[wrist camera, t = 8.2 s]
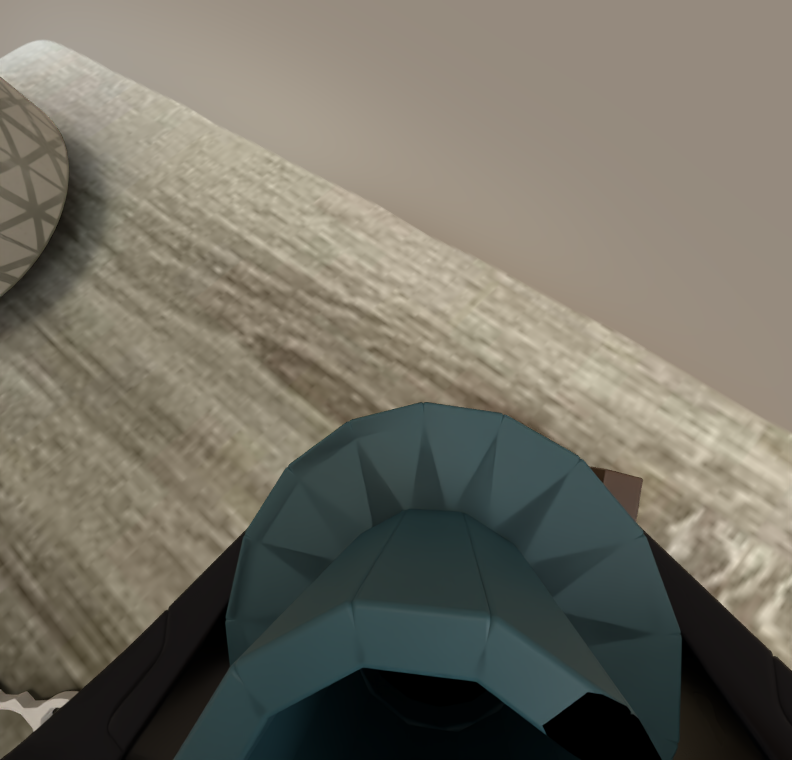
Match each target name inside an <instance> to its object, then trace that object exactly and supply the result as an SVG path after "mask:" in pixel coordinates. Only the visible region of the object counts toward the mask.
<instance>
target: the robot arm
mask: <svg viewBox="0 0 792 760" xmlns="http://www.w3.org/2000/svg"><path fill="white" fill-rule="evenodd" d="M639 527H640V526H639ZM640 528H641V527H640ZM247 529H248V528H247ZM247 529H246V530H247ZM641 529H642V528H641ZM246 530H245V531H244V532H243V533H242V534H241V535H240V536H239V537H238V538H237V539H236V540H235V541H234V542H233V543H232V544H231V545H230V546H229V547H228V548H227V549H226V550H225V551H224V552H223V553H222V554H221V555H220V556H219V557H218V558H217V559H216V560H215V561H214V562H213V563H212V564H211V565H210V566H209V567H208V568H207V569H206V570H205V571H204V572H203V573H202V574H201V575H200V576H199V577H198V578H197V579H196V580H195V581H194V582H193V583H192V584H191V585H190V586H189V587H188V588H187V589H186V590H185V591H184V592H183V593H182V594H181V595H180V596H179V597H178V598H177V599H176V600H175V601H174V602H173V603H172V604H171V605H170V607H169V609H168V610H166V611H164V612H163V613H162V614H161V615H160V616H159V617H158V618H157V619H156V620H155V621H154V622H153V623H152V624H151V625H150V626H149V627H148V628H147V629H146V630H145V631H144V632H143V633H142V634H141V635H140V636H139V637H138V638H137V639H136V640H135V641H134V642H133V643H132V644H131V645H130V646H129V647H128V648H127V649H126V650H125V651H124V652H122V653H121V654H120V655H119V656H118V657H117V658H116V659H115V660H114V661H113V662H111V663H110V664H109V665H108V666H107V667H106V668H105V669H104V670H103V671H102V672H101V673H99V674H98V675H97V676H96V677H95V678H94V679H93V680H92V681H90V682H89V683H88V684H87V685H86V686H85V687H84V688H83V689H81V690H80V691H79V692H78V693H77V694H76V695H75V696H74V697H72V698H71V699H70V700H69V701H68V702H67V703H66V704H65V705H63V706H62V707H61V708H60V709H59V710H58V711H57V712H55V713H54V714H53V715H52V716H51V717H50V718H49V719H48V720H46V721H45V722H44V723H43V724H42V725H41V726H40V727H39V728H37V729H36V730H35V731H34V732H33V733H32V734H31V735H30V736H28V737H27V738H26V739H25V740H24V741H23V742H21V743H20V744H19V745H18V746H17V747H16V748H14V749H13V750H12V751H11V752H9V753H8V754H7V755H6V756H4V757H3V758H2V759H0V760H173V759H174V757H175V756H176V754H177V753H178V751H179V749H180V748H181V746H182V744H183V743H184V741H185V740H186V738H187V736H188V735H189V733H190V731H191V730H192V728H193V726H194V725H195V723H196V722H197V720H198V718H199V717H200V715H201V713H202V712H203V710H204V708H205V707H206V705H207V704H208V702H209V700H210V699H211V697H212V695H213V694H214V692H215V691H216V689H217V687H218V686H219V684H220V682H221V681H222V679H223V677H224V676H225V674H226V673H227V671H228V669H229V668H230V662H229V653H228V643H227V634H226V625H225V622H226V613H227V608H228V604H229V599H230V595H231V590H232V586H233V581H234V577H235V572H236V568H237V563H238V559H239V554H240V550H241V545H242V541H243V537H244V535H245V532H246ZM642 530H643V529H642ZM643 534H644V535H645V536H646V537H647V540H648V543H649V546H650V548H651V551H652V554H653V557H654V559H655V562H656V565H657V568H658V570H659V573H660V576H661V579H662V581H663V584H664V587H665V590H666V592H667V595H668V598H669V601H670V603H671V606H672V609H673V611H674V614H675V617H676V620H677V622H678V625H679V628H680V631H681V633H680V635H681V637H682V651H681V695H680V740H679V743H677V744H678V749H677V751H676V753H675V755H674V757H673V759H672V760H792V671H791V670H790V669H789V668H788V667H787V666H786V665H785V664H784V663H783V662H782V661H781V660H780V659H779V658H778V657H775V656H773V654H772V652H771V651H770V650H769V649H768V648H767V647H766V646H765V645H764V644H763V643H762V642H761V641H760V640H759V639H758V638H756V637H755V636H754V635H753V634H752V633H751V632H750V631H749V630H748V629H747V628H746V627H745V626H744V625H743V624H742V623H741V622H740V621H739V620H738V619H736V618H735V617H734V616H733V615H732V614H731V613H730V612H729V611H728V610H727V609H726V608H725V607H724V606H723V605H722V604H721V603H720V602H719V601H718V600H716V599H715V598H714V597H713V596H712V595H711V594H710V593H709V592H708V591H707V590H706V589H705V588H704V587H703V586H702V585H701V584H700V583H699V582H698V581H697V580H695V579H694V578H693V577H692V576H691V575H690V574H689V573H688V572H687V571H686V570H685V569H684V568H683V567H682V566H681V565H680V564H679V563H678V562H677V561H675V560H674V559H673V558H672V557H671V556H670V555H669V554H668V553H667V552H666V551H665V550H664V549H663V548H662V547H661V546H660V545H659V544H658V543H657V542H656V541H654V540H653V539H652V538H651V537H650V536H649V535H648V534H647V533H646V532H645V531H644V530H643Z"/></svg>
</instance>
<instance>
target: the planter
mask: <svg viewBox="0 0 792 760" xmlns="http://www.w3.org/2000/svg"><path fill="white" fill-rule="evenodd" d="M68 182H69V161H68V154H67V150H66V146H65V143H64V140H63V138H62V135H61V133H60V132H59V130H58V128H57V127H56V125H55V124H54V123H53V121H52V120H51V119H50V118H49V117H48V116H47V115H46V114H45V113H44V112H43V111H41V110H40V109H39V108H38V107H37V106H35V105H34V104H33V103H32V102H31V101H29V100H28V99H27V98H26V97H24V96H23V95H22V94H21V93H20V92H18V91H17V90H16V89H15V88H14V87H12V86H11V85H10V84H9V83H7V82H6V81H5V80H4V79H3V78H1V77H0V297H1V296H2V295H4V294H5V293H6V292H7V291H8V290H9V289H11V288H12V287H13V286H14V285H15V284H16V283H17V282H18V281H19V280H20V279H21V278H22V277H23V276H24V275H25V274H26V272H27V271H28V270H29V269H30V268H31V267H32V266H33V264H34V263H35V262H36V260H37V259H38V257H39V256H40V255H41V253H42V252H43V250H44V249H45V247H46V245H47V244H48V242H49V240H50V238H51V236H52V235H53V233H54V231H55V228H56V226H57V224H58V222H59V219H60V216H61V213H62V211H63V208H64V204H65V200H66V196H67V190H68Z"/></svg>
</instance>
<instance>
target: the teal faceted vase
mask: <svg viewBox="0 0 792 760" xmlns="http://www.w3.org/2000/svg"><path fill="white" fill-rule="evenodd" d="M225 625H226V634H227V643H228V653H229V662H230V668H229V669H228V671H227V673H226V674H225V676H224V677H223V679H222V681H221V682H220V684H219V686H218V687H217V689H216V691H215V692H214V694H213V695H212V697H211V699H210V700H209V702H208V704H207V705H206V707H205V708H204V710H203V712H202V713H201V715H200V717H199V718H198V720H197V722H196V723H195V725H194V726H193V728H192V730H191V731H190V733H189V735H188V736H187V738H186V740H185V741H184V743H183V744H182V746H181V748H180V749H179V751H178V753H177V754H176V756H175V757H174V759H173V760H672V759H673V757H674V755H675V753H676V751H677V749H678V744H677V743H679V740H680V695H681V651H682V637H681V635H680V633H681V631H680V628H679V625H678V622H677V620H676V617H675V614H674V611H673V609H672V606H671V603H670V601H669V598H668V595H667V592H666V590H665V587H664V584H663V581H662V579H661V576H660V573H659V570H658V568H657V565H656V562H655V559H654V557H653V554H652V551H651V548H650V546H649V543H648V540H647V537H646V536H645V535H644V534H643V530H642V529H641V528H640V527H639V525H638V524H637V523H636V522H635V521H634V519H633V518H632V517H631V516H630V515H629V514H628V512H627V511H626V510H625V509H624V508H623V506H622V505H621V504H620V503H619V502H618V500H617V499H616V498H615V497H614V496H613V495H612V493H611V492H610V491H609V490H608V489H607V487H606V486H605V485H604V484H603V483H602V481H601V480H600V479H599V478H598V477H597V476H596V474H595V473H594V472H593V471H592V470H591V468H590V467H589V466H588V465H587V464H586V462H585V461H584V460H582V459H580V457H579V456H578V455H576V454H574V453H573V452H571V451H569V450H567V449H566V448H564V447H562V446H560V445H559V444H557V443H555V442H553V441H552V440H550V439H548V438H546V437H544V436H543V435H541V434H539V433H537V432H536V431H534V430H532V429H530V428H529V427H527V426H525V425H523V424H522V423H520V422H518V421H516V420H515V419H513V418H511V417H509V416H508V415H503V414H502V413H498V412H491V411H484V410H477V409H471V408H464V407H457V406H450V405H443V404H436V403H429V402H424V403H422V402H420V403H416V404H412V405H408V406H404V407H400V408H396V409H392V410H388V411H384V412H380V413H376V414H372V415H368V416H364V417H360V418H356V419H352V420H350V422H346V423H345V424H343V425H342V426H340V427H339V428H338V429H336V430H335V431H334V432H332V433H331V434H330V435H328V436H327V437H326V438H324V439H323V440H322V441H320V442H319V443H317V444H316V445H315V446H313V447H312V448H311V449H309V450H308V451H307V452H305V453H304V454H303V455H301V456H300V457H299V458H297V459H296V460H294V461H293V462H292V463H290V464H289V466H288V467H287V468H286V469H285V470H284V472H283V473H282V475H281V476H280V478H279V480H278V481H277V483H276V484H275V486H274V488H273V489H272V491H271V492H270V494H269V495H268V497H267V499H266V500H265V502H264V503H263V505H262V507H261V508H260V510H259V511H258V513H257V514H256V516H255V518H254V519H253V521H252V522H251V524H250V526H249V527H248V529H247V530H246V532H245V535H244V537H243V541H242V545H241V550H240V554H239V559H238V563H237V568H236V572H235V577H234V581H233V586H232V590H231V595H230V599H229V604H228V608H227V613H226V622H225Z"/></svg>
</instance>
